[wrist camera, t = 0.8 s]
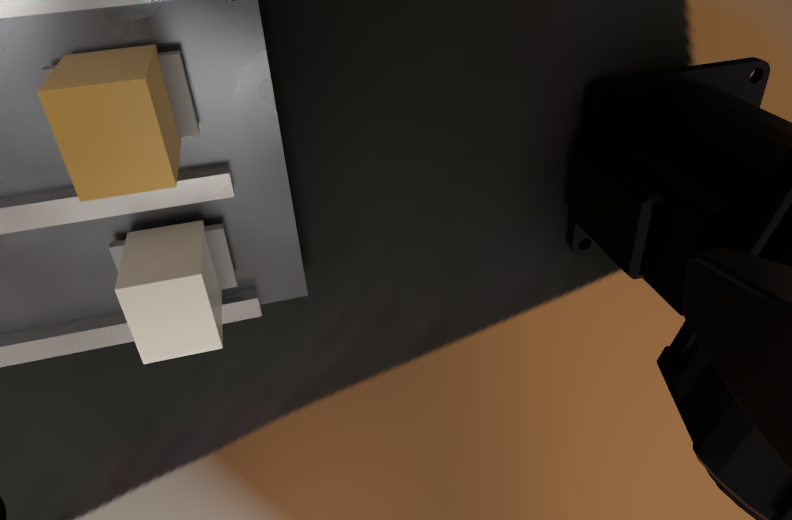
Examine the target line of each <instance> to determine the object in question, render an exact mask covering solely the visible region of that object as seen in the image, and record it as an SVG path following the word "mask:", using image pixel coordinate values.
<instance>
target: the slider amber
mask: <svg viewBox="0 0 792 520" xmlns="http://www.w3.org/2000/svg"><path fill="white" fill-rule="evenodd" d="M41 71H42V73H43V76H44V78H45V82H44V83H43V84H42V86H41V87H40V88H39V90H38V91H37V93H38V96H39V98H40V101H41V103H42V106H43V109H44V111H45V114H46V116H47V119H48V121H49V124H50V126H51V129H52V132H53V134H54V137H55V139H56V142H57V144H58V147H59V149H60V152H61V155H62V157H63V160H64V162H65V165H66V167H67V170H68V172H69V175H70V178H71V180H72V183H73V185H74V188H75V190H76V193H77V195H78V198H79V200H80V202H83V201H89V200H96V199H102V198H109V197H115V196H121V195H128V194H134V193H141V192H147V191H154V190H160V189H167V188H173V187H177V178H178V168H179V159H180V150H181V137H187V136H194V135H200V130H199V126H198V122H197V118H196V114H195V109H194V105H193V101H192V97H191V93H190V89H189V85H188V81H187V77H186V73H185V69H184V65H183V61H182V57H181V53H180V50H179V51H171V52H162V53H158V51H157V48H156V44H154V45H145V46H137V47H128V48H119V49H111V50H102V51H93V52H85V53H76V54H67V55H64V56H63V57H62V59H61V60H60V62H59V63H58V64H57V65H52V66H44V67H43V69H42V70H41Z"/></svg>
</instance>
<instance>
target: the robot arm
mask: <svg viewBox="0 0 792 520" xmlns="http://www.w3.org/2000/svg"><path fill="white" fill-rule="evenodd" d="M753 70H755V72H754V74H753V75H752V76H751V78H750V75H751V73H752V72H753ZM769 73H770V66H769V64H768V63H767V62H766V61H764V60H761V59H758V58H753V57H751V58H744V59H737V60H731V61H723V62H717V63H709V64H702V65H695V66H688V67H681V68H674V69H667V70H660V71H653V72H646V73H639V74H632V75H625V76H618V77H611V78H604V79H599V80H597V81H595V82H594V83H592V84H591V85H590V86H589V88H588V89H587V92H586V95H585V101H584V109H583V117H582V126H581V134H580V142H579V147H578V148H577V150H576V152H575V157H574V165H573V174H572V182H571V190H570V199H569V207H568V215H569V217H570V224H569V232H568V240H567V242H568V246H569V248H570V249H571V250H572V251H573V252H574V253H575V254H576V255H579V256H584V255H589V254H594V253H599V252H605V253H606V254H607V255H608V256H609V257H610V258H611V259H612V260H613V261H614V262H615V263H616V264H617V265H618V266H619V267H620V268H621V269H622V270H623V271H624V272H625V273H626V274H627V275H629V276H630V277H631V278H633V279H639V278H643V279H644V280H645V281H646V282H647V283H648V284H649V285H650V286H651V287H652V288H653V289H654V290H655V291H656V292H657V293H658V294H659V295H660V296H661V297H662V298H663V299H664V300H666V302H668V304H669V305H670V306H672V307H673V308H674V309H675V310H676V311H677V312H678V313H679V314H680V315H681V316H684V317H685V319H686V320H685V322H684V324H683V326H682V327H681V328H680V330H679V332H678V333H677V335H676V337H675V338H674V340H673V342H672V343H671V345H670V346H666V347H665V348H664V350H663V351H662V353H661V355H660V357H659V358H658V360H657V364H658V366H659V368H660V371H661V373H662V375H663V377H664V380H665V382H666V384H667V386H668V388H669V391H670V393H671V395H672V397H673V399H674V402H675V404H676V406H677V408H678V411H679V413H680V415H681V417H682V419H683V421H684V424H685V426H686V428H687V430H688V433H689V435H690V437H691V439H692V441H693V450H694V452H695V454H696V456H697V458H698V460H699V461H700V462H701V464H702V465H703V466H704V467H705V468H706V470H707V471H708V473H709V475H710V476H711V478H712V479H713V480H714V481H715V482H716V484H717V486H718V487H719V488H720V490H722V491H723V492H724V493H725V494H726V495H727V496H728V497H729V498H730V499H732V500H733V501H734V502H735V503H736V504H737V505H738V506H739V507H740V508H742V509H743V510H744V511H745V512H747V513H748V514H749V515H751V516H752V517H753V518H755V519H756V520H792V123H791V122H789V121H786V120H785V119H782V118H780V117H778V116H776V115H774V114H772V113H769V112H767V111H765V110H763V109H761V108H760V105H761V101H762V98H763V94H764V91H765V87H766V84H767V80H768V77H769ZM604 91H606V92H607V94H606V96H605V98H604V99H603V100H602V101H600V102H599V101H598V99H599V96H600V94H601V93H602V92H604ZM585 238H586V239H585ZM583 239H585V241H584V242H583V243H582V244H579V243H580V242H581V241H582V240H583ZM0 520H7V514H6V508H5V504H4V502H3V500H2V498H1V497H0Z"/></svg>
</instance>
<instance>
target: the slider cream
mask: <svg viewBox="0 0 792 520" xmlns="http://www.w3.org/2000/svg"><path fill="white" fill-rule="evenodd" d="M109 250H110V252H111V255H112V258H113V260H114V263H115V266H116V268H117V271H118V276H117V281H116V285H115V292H116V295H117V298H118V300H119V303H120V305H121V308H122V310H123V313H124V315H125V318H126V321H127V323H128V326H129V328H130V331H131V333H132V336H133V338H134V341H135V344H136V346H137V349H138V351H139V354H140V356H141V359H142V361H143V364H147V363H152V362H157V361H162V360H167V359H172V358H177V357H182V356H187V355H192V354H197V353H202V352H207V351H212V350H217V349H222V348H223V340H222V294H221V290H222V289H227V288H233V287H237V279H236V275H235V271H234V267H233V263H232V259H231V255H230V251H229V247H228V243H227V238H226V234H225V230H224V226H223V223H221V224H215V225H209V226H204V223H203V220H201V221H194V222H188V223H182V224H176V225H170V226H164V227H158V228H152V229H146V230H140V231H134V232H128V233H127V236H126V240H120V241H114V242H110V245H109Z"/></svg>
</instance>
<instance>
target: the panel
mask: <svg viewBox="0 0 792 520" xmlns="http://www.w3.org/2000/svg"><path fill="white" fill-rule="evenodd" d="M154 44H156V48H157V51H158V53H162V52H171V51H179V50H180V53H181V57H182V61H183V65H184V69H185V73H186V77H187V81H188V85H189V89H190V93H191V97H192V101H193V105H194V109H195V114H196V118H197V122H198V126H199V130H200V135H194V136H187V137H181V150H180V159H179V168H178V178H177V187H173V188H167V189H160V190H154V191H147V192H141V193H134V194H128V195H121V196H115V197H109V198H102V199H96V200H89V201H83V202H80V200H79V198H78V195H77V193H76V190H75V188H74V185H73V183H72V180H71V178H70V175H69V172H68V170H67V167H66V165H65V162H64V160H63V157H62V155H61V152H60V149H59V147H58V144H57V142H56V139H55V137H54V134H53V132H52V129H51V126H50V124H49V121H48V119H47V116H46V114H45V111H44V109H43V106H42V103H41V101H40V98H39V96H38V93H37V91H38V90H39V88H40V87H41V86H42V84H43V83H44V82H45V78H44V76H43V73H42V71H41V70H42V69H43V67H44V66H52V65H57V64H58V63H59V62H60V60H61V59H62V57H63V56H64V55H67V54H76V53H85V52H93V51H102V50H111V49H119V48H128V47H137V46H145V45H154ZM201 220H203V223H204V226H209V225H215V224H221V223H223V226H224V230H225V234H226V238H227V243H228V247H229V251H230V255H231V259H232V263H233V267H234V271H235V275H236V279H237V287H233V288H227V289H222V290H221V294H222V324H225V323H230V322H235V321H240V320H245V319H250V318H255V317H260V316H262V312H261V304H267V303H272V302H277V301H282V300H287V299H293V298H298V297H303V296H308V293H307V287H306V281H305V275H304V269H303V263H302V257H301V251H300V246H299V240H298V234H297V228H296V222H295V216H294V210H293V204H292V198H291V193H290V187H289V181H288V175H287V169H286V163H285V157H284V151H283V146H282V140H281V134H280V128H279V122H278V116H277V110H276V104H275V99H274V93H273V87H272V81H271V75H270V69H269V63H268V57H267V52H266V46H265V40H264V34H263V28H262V22H261V16H260V10H259V5H258V0H0V367H4V366H10V365H15V364H20V363H25V362H30V361H35V360H40V359H45V358H50V357H56V356H61V355H66V354H71V353H76V352H81V351H86V350H91V349H97V348H102V347H107V346H112V345H117V344H122V343H127V342H132V341H134V338H133V336H132V333H131V331H130V328H129V326H128V323H127V321H126V318H125V315H124V313H123V310H122V308H121V305H120V303H119V300H118V298H117V295H116V292H115V285H116V281H117V276H118V271H117V268H116V266H115V263H114V260H113V258H112V255H111V252H110V250H109V245H110V242H114V241H120V240H126V236H127V233H128V232H134V231H140V230H146V229H152V228H158V227H164V226H170V225H176V224H182V223H188V222H194V221H201Z"/></svg>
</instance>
